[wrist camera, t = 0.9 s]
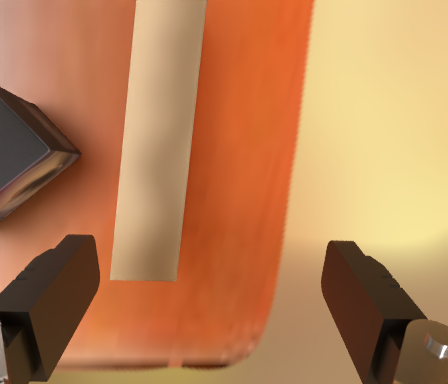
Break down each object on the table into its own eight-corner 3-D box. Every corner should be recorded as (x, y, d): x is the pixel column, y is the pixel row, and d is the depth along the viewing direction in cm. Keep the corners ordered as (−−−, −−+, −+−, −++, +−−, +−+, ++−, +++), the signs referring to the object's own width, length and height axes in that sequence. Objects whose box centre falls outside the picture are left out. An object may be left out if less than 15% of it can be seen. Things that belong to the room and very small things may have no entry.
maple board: (124, 235, 30) (109, 280, 18) (146, 4, 29) (146, -104, 17) (165, 237, 31) (176, 281, 19) (188, 14, 30) (215, -81, 18)
